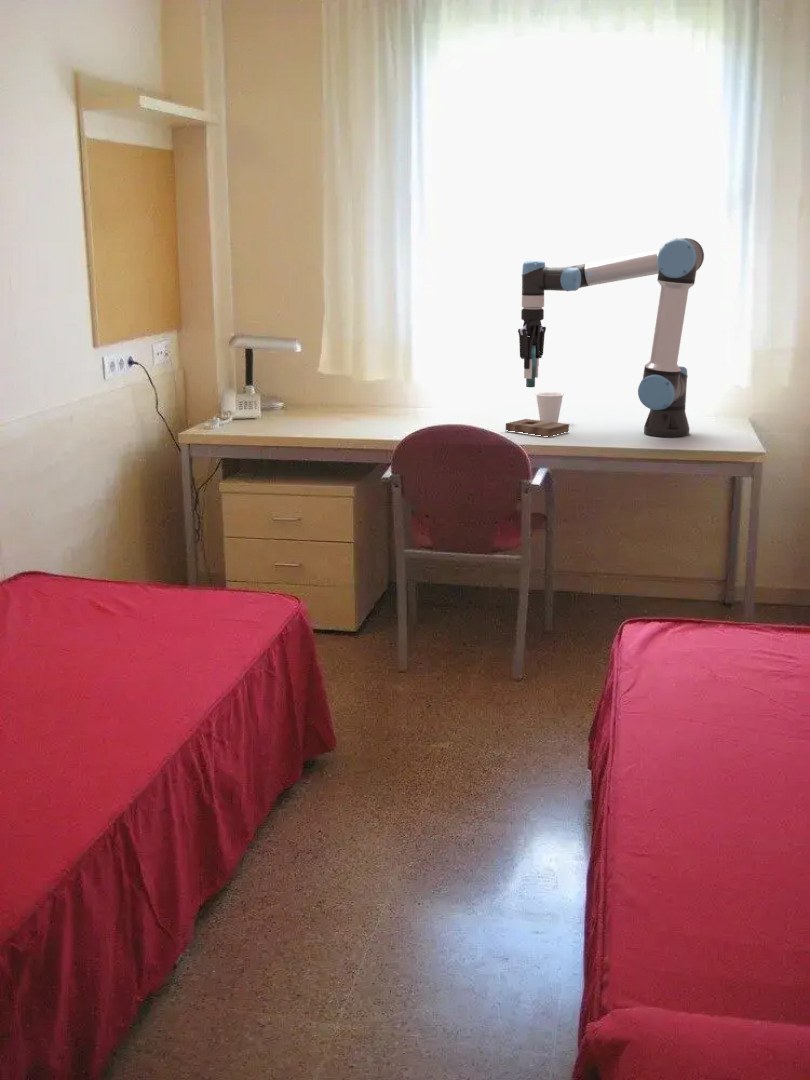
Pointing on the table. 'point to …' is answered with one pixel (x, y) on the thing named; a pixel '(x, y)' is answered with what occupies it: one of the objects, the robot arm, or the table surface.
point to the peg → (533, 356)
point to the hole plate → (537, 427)
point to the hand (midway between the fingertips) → (531, 377)
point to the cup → (549, 405)
